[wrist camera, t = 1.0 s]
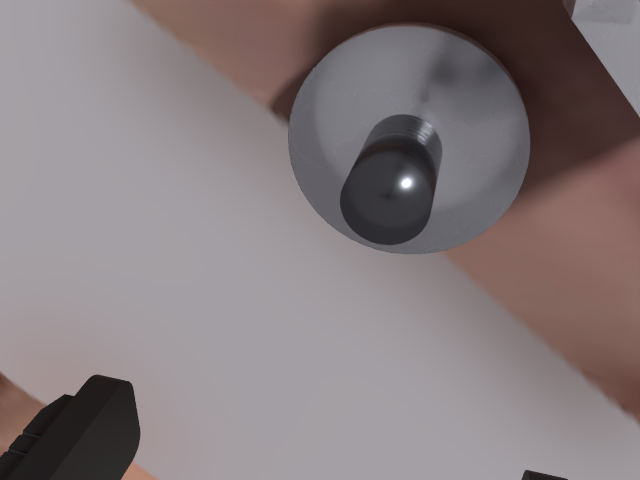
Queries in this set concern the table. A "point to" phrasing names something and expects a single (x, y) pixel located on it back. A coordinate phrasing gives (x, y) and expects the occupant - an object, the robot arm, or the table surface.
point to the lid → (409, 138)
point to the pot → (612, 39)
